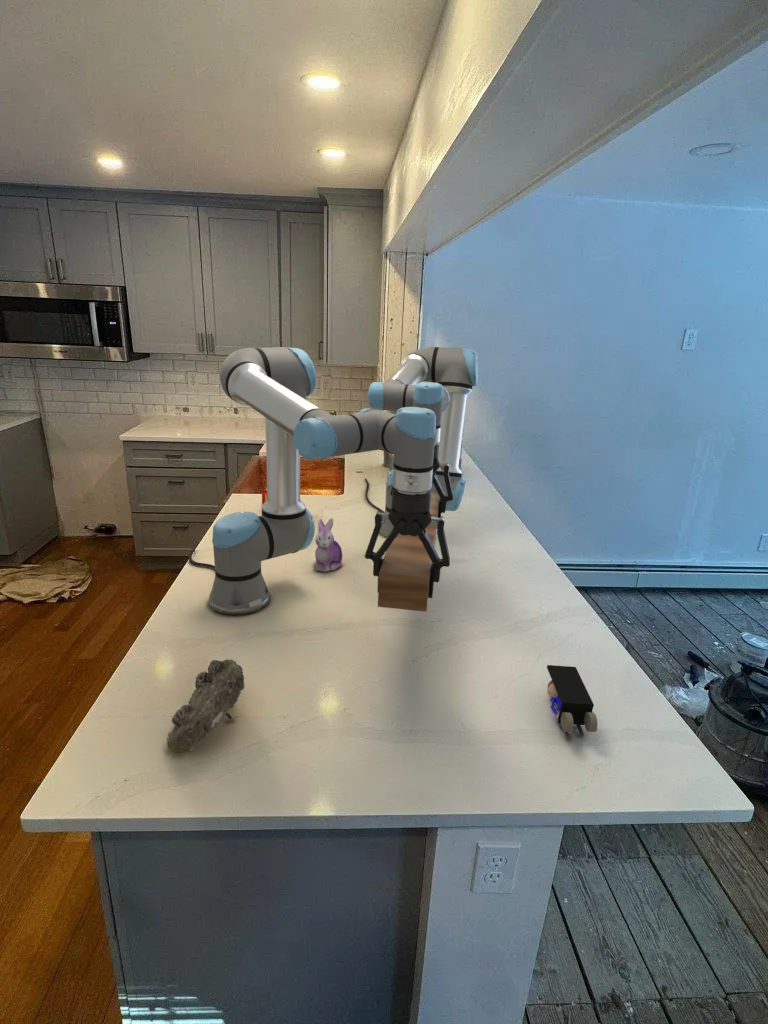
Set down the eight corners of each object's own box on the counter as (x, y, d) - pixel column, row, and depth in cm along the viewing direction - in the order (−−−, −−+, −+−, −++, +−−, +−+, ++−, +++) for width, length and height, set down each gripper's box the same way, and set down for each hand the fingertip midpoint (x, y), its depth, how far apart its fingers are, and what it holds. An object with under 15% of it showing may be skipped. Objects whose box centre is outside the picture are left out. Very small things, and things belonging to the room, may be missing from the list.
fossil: (192, 660, 117) (244, 628, 112) (224, 691, 120) (276, 661, 115) (142, 746, 98) (202, 712, 93) (182, 779, 101) (242, 748, 96)
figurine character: (595, 749, 106) (570, 690, 120) (603, 719, 103) (577, 662, 116) (559, 748, 106) (538, 690, 119) (567, 718, 103) (545, 662, 116)
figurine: (319, 575, 166) (320, 527, 161) (307, 561, 175) (307, 516, 170) (349, 569, 170) (350, 523, 165) (336, 556, 179) (336, 512, 174)
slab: (404, 515, 164) (405, 490, 161) (438, 517, 163) (440, 493, 160) (377, 606, 112) (379, 572, 110) (426, 611, 111) (429, 577, 109)
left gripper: (351, 490, 107) (348, 595, 115) (470, 500, 105) (459, 607, 112) (358, 479, 114) (355, 578, 122) (470, 488, 112) (460, 589, 119)
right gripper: (381, 442, 148) (378, 522, 155) (467, 449, 145) (460, 530, 152) (385, 436, 155) (382, 513, 162) (468, 442, 152) (460, 520, 159)
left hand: (405, 592), depth 117 cm, fingers closed on slab, 10 cm apart
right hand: (419, 521), depth 157 cm, fingers closed on slab, 10 cm apart
